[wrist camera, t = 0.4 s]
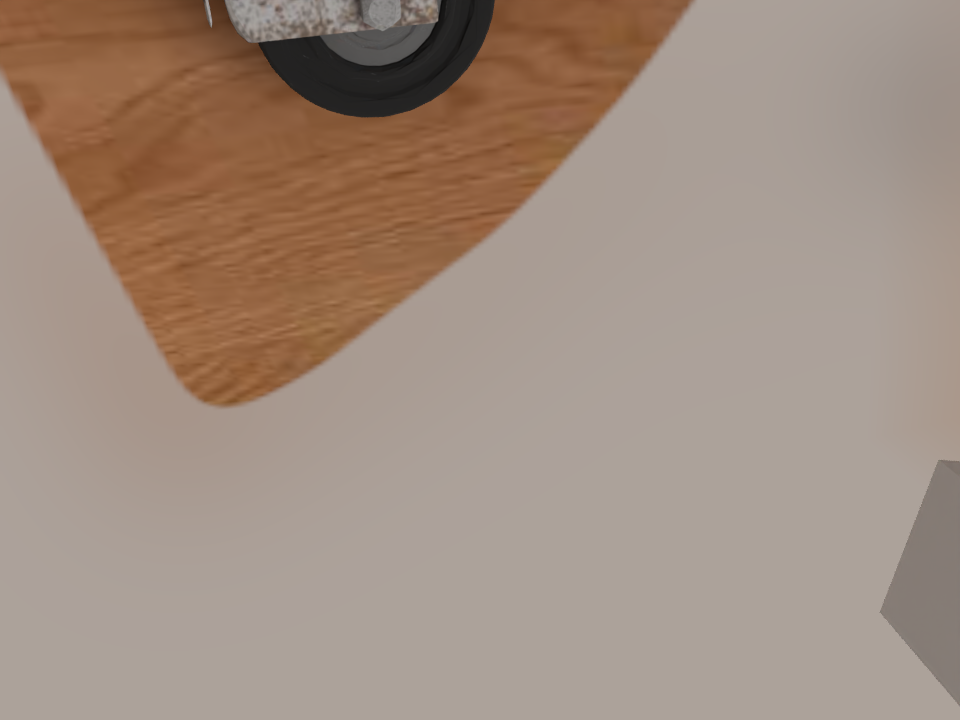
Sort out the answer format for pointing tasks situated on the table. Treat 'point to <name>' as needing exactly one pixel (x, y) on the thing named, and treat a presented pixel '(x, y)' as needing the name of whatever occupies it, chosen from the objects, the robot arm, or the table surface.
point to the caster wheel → (365, 48)
